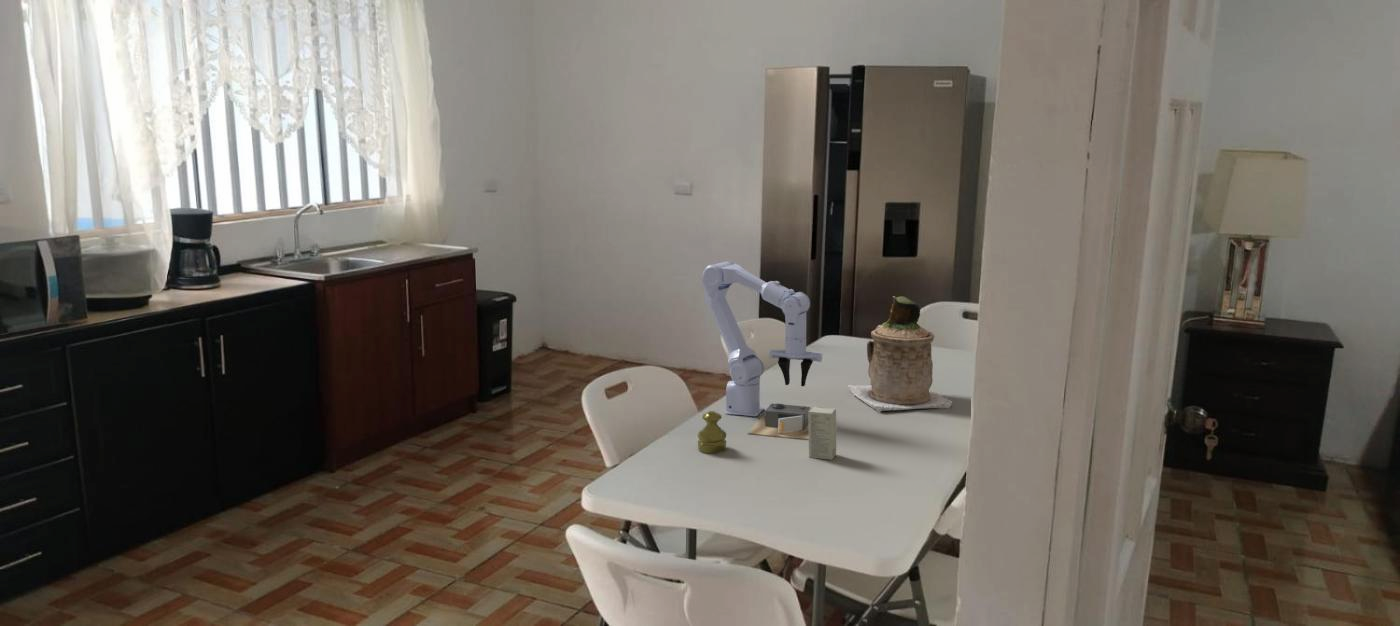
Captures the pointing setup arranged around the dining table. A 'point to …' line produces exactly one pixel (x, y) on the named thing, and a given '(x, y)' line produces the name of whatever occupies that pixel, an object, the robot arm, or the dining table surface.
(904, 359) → the cookie jar
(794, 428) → the side door
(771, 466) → the dining table surface
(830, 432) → the skincare box
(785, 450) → the dining table surface
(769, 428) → the wooden board
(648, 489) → the dining table surface
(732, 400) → the robot arm
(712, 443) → the salt shaker
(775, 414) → the camera body
